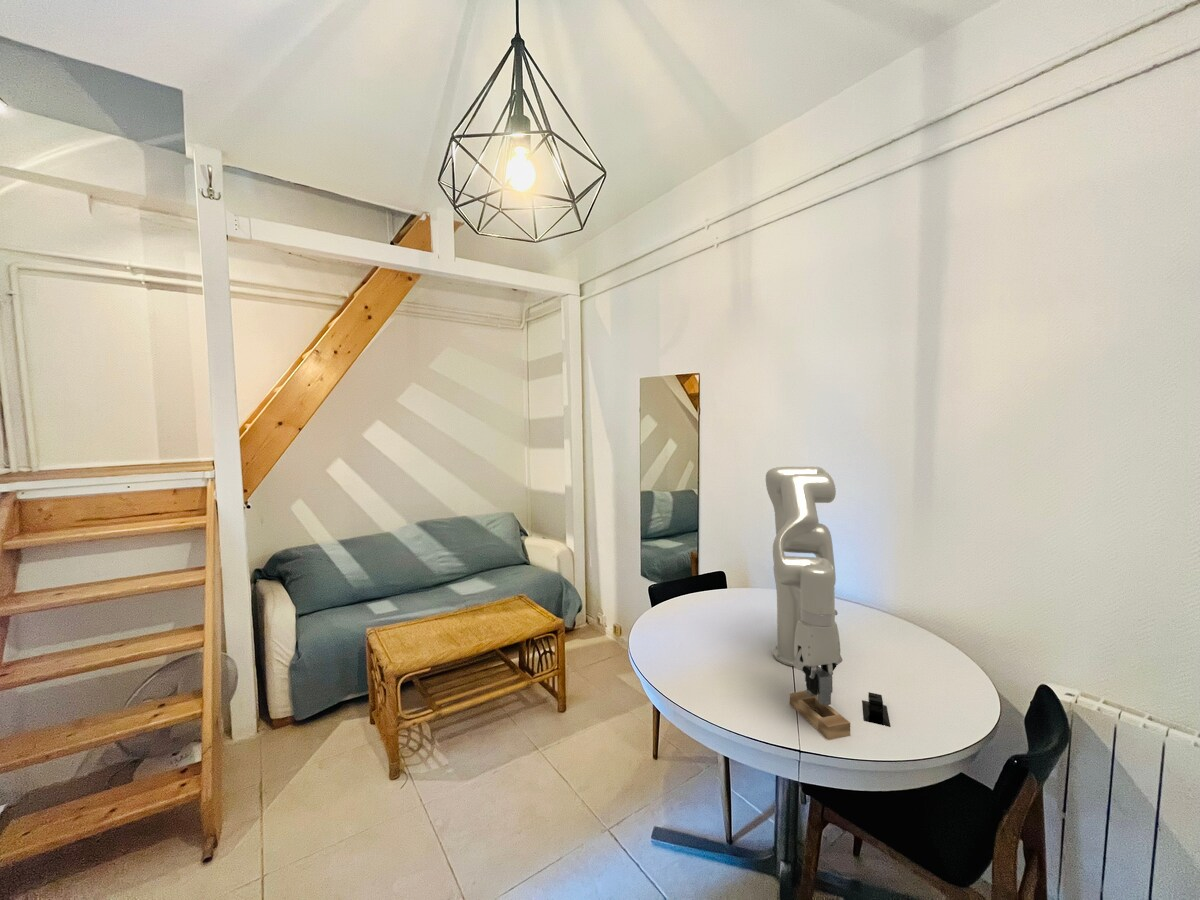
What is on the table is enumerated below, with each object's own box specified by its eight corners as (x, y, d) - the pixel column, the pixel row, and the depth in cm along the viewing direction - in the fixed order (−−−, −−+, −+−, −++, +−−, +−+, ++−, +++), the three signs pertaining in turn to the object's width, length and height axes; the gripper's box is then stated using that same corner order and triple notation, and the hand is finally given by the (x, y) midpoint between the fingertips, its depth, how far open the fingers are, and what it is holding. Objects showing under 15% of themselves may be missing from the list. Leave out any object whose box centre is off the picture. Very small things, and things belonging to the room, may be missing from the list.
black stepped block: (858, 698, 120) (858, 681, 120) (890, 705, 116) (890, 688, 116) (860, 725, 109) (860, 707, 109) (896, 734, 105) (896, 715, 105)
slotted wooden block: (789, 704, 117) (789, 693, 117) (809, 700, 118) (809, 689, 118) (828, 739, 103) (828, 727, 103) (850, 735, 105) (850, 722, 104)
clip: (805, 692, 113) (804, 665, 113) (815, 691, 114) (815, 663, 113) (821, 706, 107) (821, 677, 107) (832, 704, 108) (832, 675, 108)
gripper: (835, 607, 115) (835, 678, 116) (778, 614, 112) (779, 687, 112) (857, 618, 108) (858, 694, 108) (798, 626, 104) (799, 704, 105)
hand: (818, 689), depth 110 cm, fingers closed on clip, 3 cm apart
